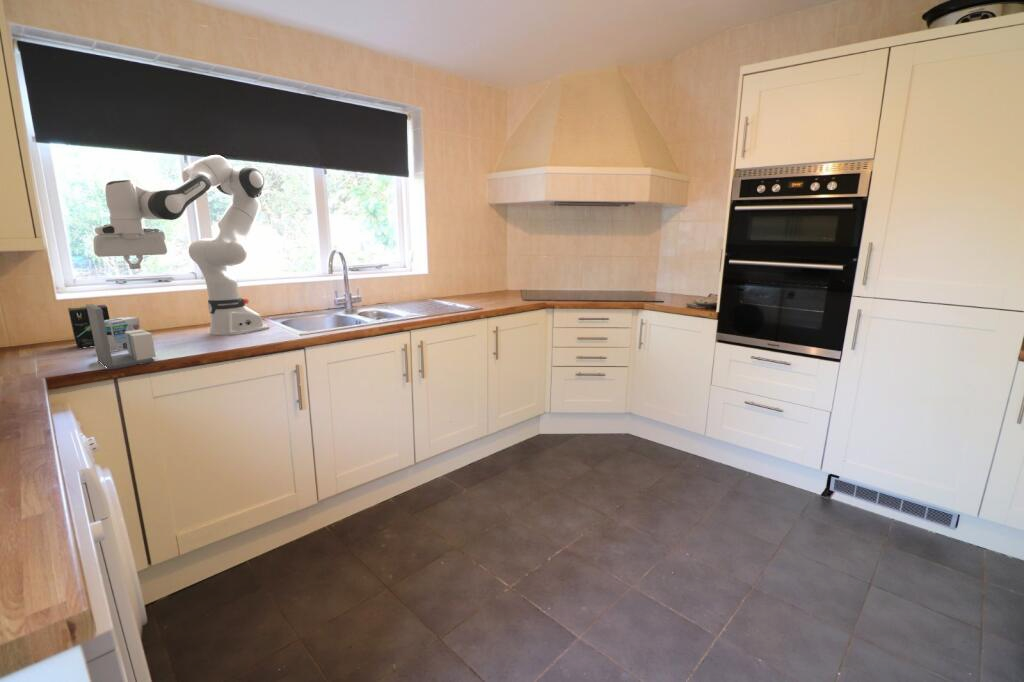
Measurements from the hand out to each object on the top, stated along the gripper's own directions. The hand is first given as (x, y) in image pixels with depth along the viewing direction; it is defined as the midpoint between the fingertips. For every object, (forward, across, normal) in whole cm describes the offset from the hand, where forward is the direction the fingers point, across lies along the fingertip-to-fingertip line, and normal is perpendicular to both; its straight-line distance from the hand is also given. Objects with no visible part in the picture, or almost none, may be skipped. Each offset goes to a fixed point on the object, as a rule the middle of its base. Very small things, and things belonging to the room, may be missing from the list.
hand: (135, 268), depth 170 cm
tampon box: (+29, +12, -24) cm, 40 cm away
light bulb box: (+29, +6, -10) cm, 32 cm away
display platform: (+29, +10, +16) cm, 35 cm away
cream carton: (+24, +3, +16) cm, 29 cm away
